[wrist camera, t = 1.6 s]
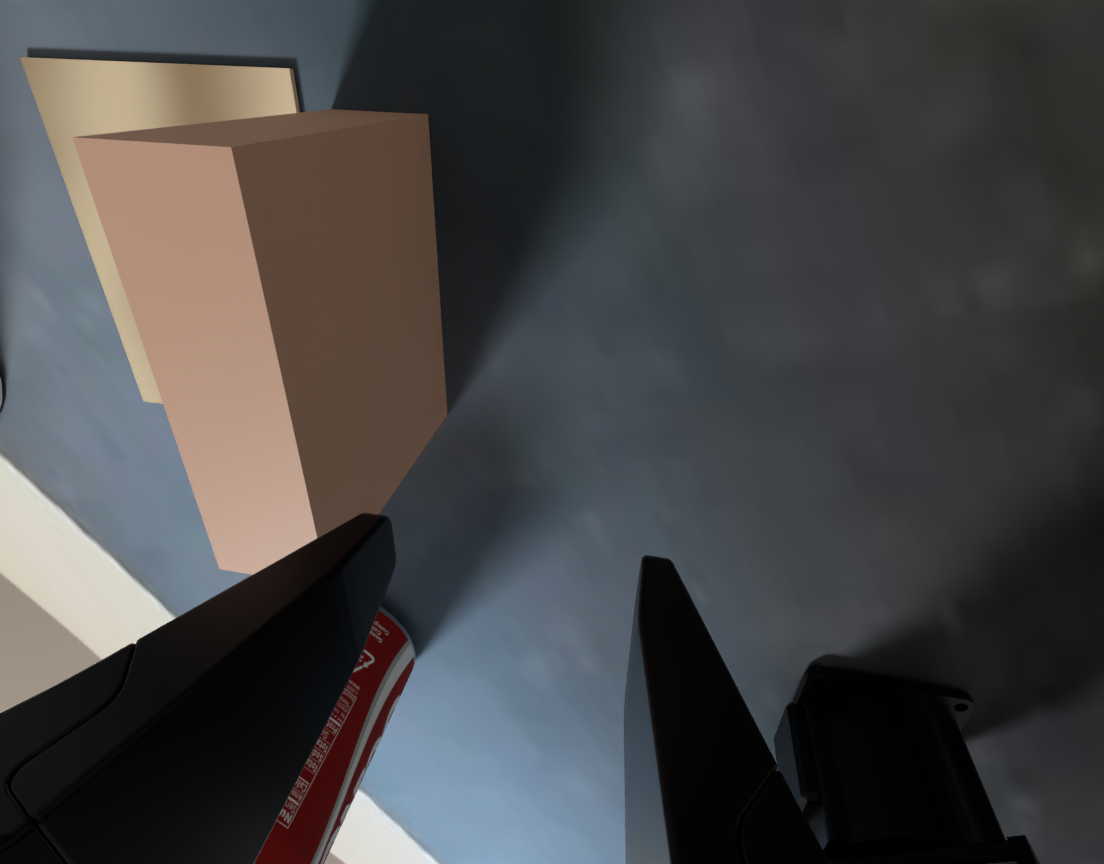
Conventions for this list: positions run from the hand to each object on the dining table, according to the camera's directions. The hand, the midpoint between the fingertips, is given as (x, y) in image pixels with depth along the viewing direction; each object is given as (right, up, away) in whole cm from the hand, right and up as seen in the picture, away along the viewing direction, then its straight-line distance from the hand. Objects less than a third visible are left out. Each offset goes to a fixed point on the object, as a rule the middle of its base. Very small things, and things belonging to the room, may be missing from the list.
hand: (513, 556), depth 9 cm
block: (-5, +7, +11) cm, 14 cm away
